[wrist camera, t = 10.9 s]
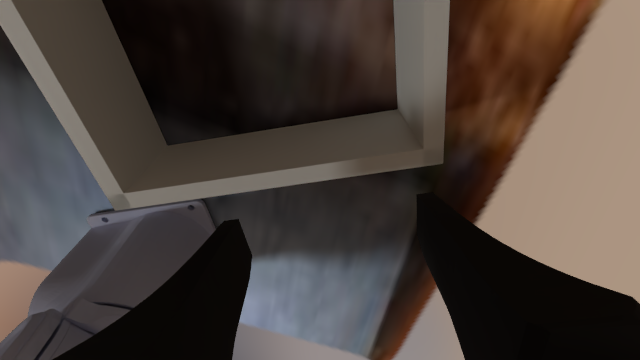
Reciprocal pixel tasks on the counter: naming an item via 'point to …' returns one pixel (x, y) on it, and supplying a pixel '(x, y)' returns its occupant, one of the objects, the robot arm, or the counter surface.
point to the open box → (230, 151)
